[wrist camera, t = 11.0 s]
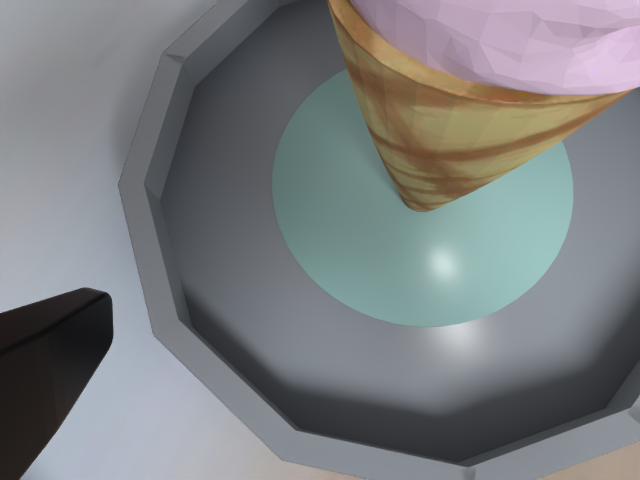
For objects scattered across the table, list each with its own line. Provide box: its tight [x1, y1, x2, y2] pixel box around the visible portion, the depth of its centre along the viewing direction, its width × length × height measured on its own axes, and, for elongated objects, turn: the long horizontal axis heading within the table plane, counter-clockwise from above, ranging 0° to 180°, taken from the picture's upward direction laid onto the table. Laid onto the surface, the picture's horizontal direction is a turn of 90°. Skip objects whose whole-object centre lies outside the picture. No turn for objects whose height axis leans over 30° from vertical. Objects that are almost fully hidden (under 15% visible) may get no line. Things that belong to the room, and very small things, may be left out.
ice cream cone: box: [327, 0, 640, 212], centre depth 11 cm, size 7×6×15 cm
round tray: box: [118, 0, 640, 480], centre depth 18 cm, size 19×19×2 cm
